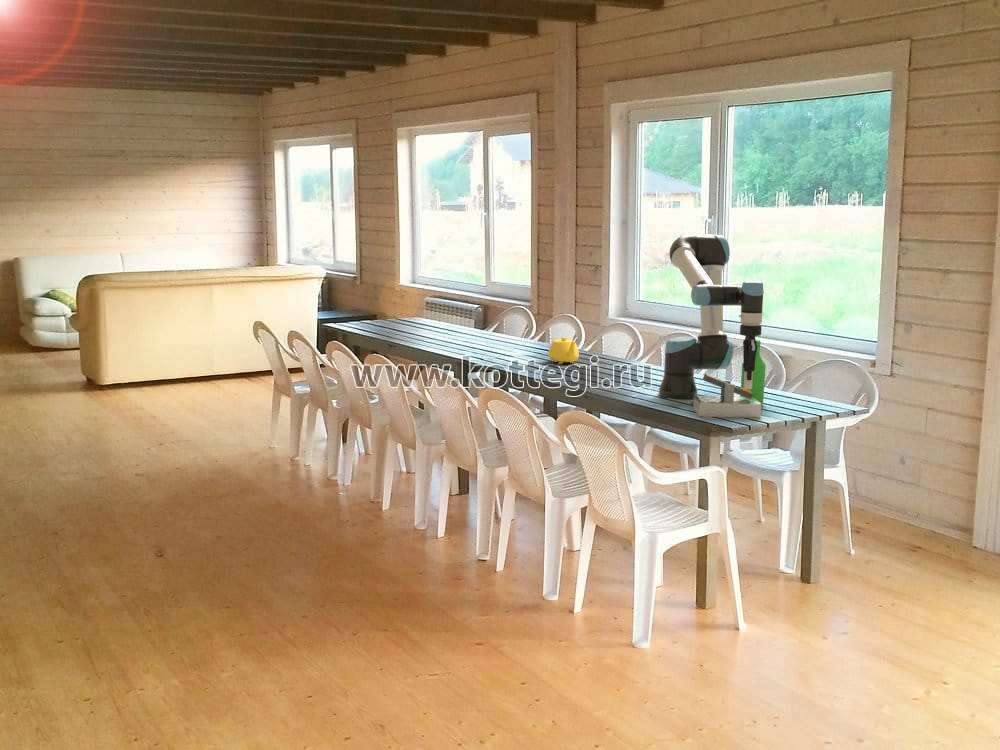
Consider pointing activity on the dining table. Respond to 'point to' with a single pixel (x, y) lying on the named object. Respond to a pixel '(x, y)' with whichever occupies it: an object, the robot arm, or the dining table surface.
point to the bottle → (757, 377)
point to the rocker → (721, 383)
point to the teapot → (563, 350)
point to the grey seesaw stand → (726, 405)
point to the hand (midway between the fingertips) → (747, 388)
